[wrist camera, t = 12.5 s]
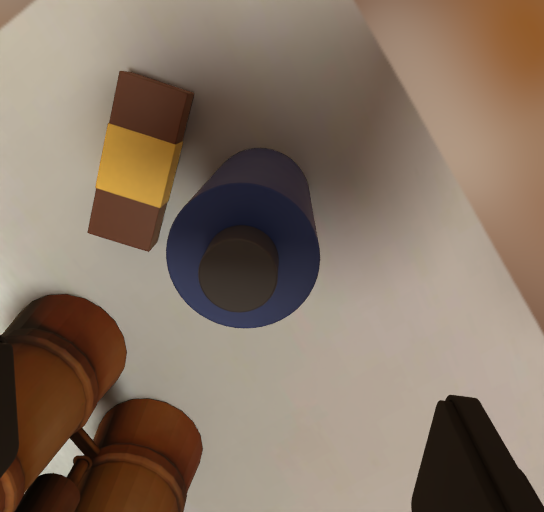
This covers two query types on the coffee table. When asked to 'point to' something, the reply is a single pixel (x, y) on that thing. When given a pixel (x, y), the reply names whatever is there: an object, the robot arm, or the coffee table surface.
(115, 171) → the chocolate bar
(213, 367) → the coffee table surface
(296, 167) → the water bottle
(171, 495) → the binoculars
